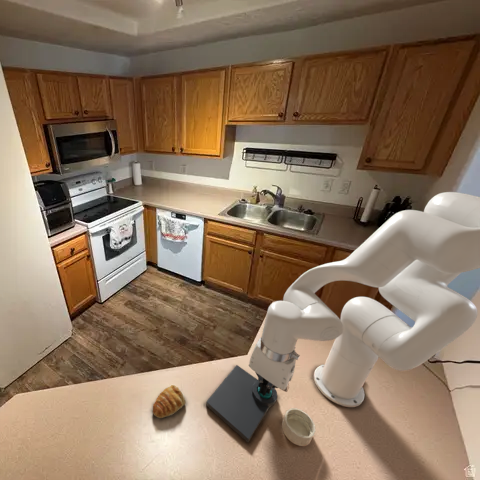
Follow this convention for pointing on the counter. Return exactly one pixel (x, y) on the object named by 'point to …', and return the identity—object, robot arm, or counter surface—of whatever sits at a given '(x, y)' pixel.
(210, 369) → the counter surface
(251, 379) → the dark grey flat block
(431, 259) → the robot arm
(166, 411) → the pastry
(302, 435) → the bowl
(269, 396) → the button
